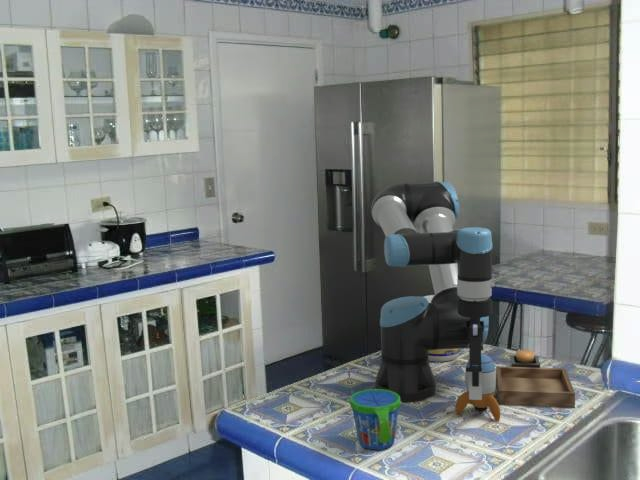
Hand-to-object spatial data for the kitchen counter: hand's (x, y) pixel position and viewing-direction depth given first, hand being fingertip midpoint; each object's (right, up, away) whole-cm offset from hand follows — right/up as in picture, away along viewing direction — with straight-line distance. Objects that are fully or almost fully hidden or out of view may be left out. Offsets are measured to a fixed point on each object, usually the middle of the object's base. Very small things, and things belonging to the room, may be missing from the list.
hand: (475, 388), depth 160 cm
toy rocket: (0, -6, +1) cm, 6 cm away
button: (+18, +2, +24) cm, 30 cm away
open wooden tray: (+17, -4, +12) cm, 21 cm away
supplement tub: (-1, 0, +42) cm, 42 cm away
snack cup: (-24, -9, -12) cm, 28 cm away
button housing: (+18, -2, +24) cm, 31 cm away
